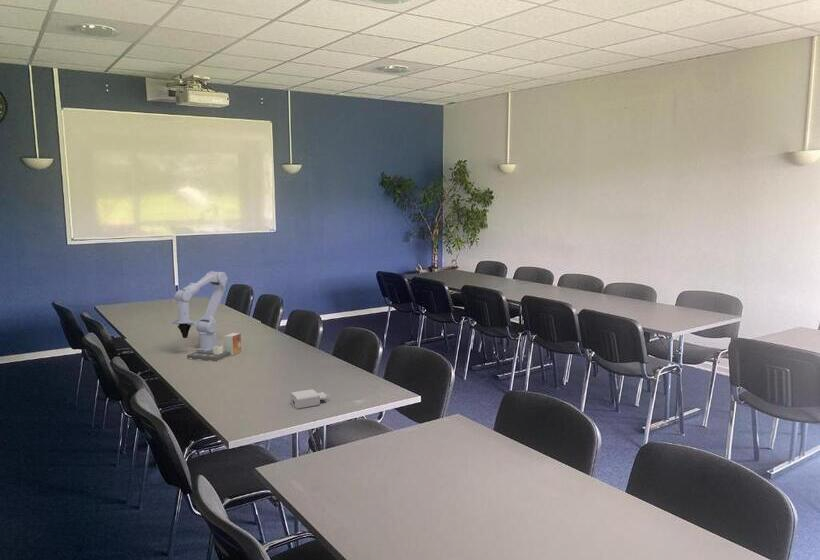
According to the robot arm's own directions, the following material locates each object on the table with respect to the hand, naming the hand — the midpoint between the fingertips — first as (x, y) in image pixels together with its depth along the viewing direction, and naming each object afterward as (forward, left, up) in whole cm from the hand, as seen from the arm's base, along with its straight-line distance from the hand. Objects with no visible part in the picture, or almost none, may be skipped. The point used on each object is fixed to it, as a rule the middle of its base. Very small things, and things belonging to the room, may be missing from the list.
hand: (185, 337), depth 320 cm
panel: (+1, +15, -9) cm, 18 cm away
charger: (+52, +100, -10) cm, 113 cm away
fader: (+1, +21, -7) cm, 22 cm away
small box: (-9, +23, -10) cm, 27 cm away
